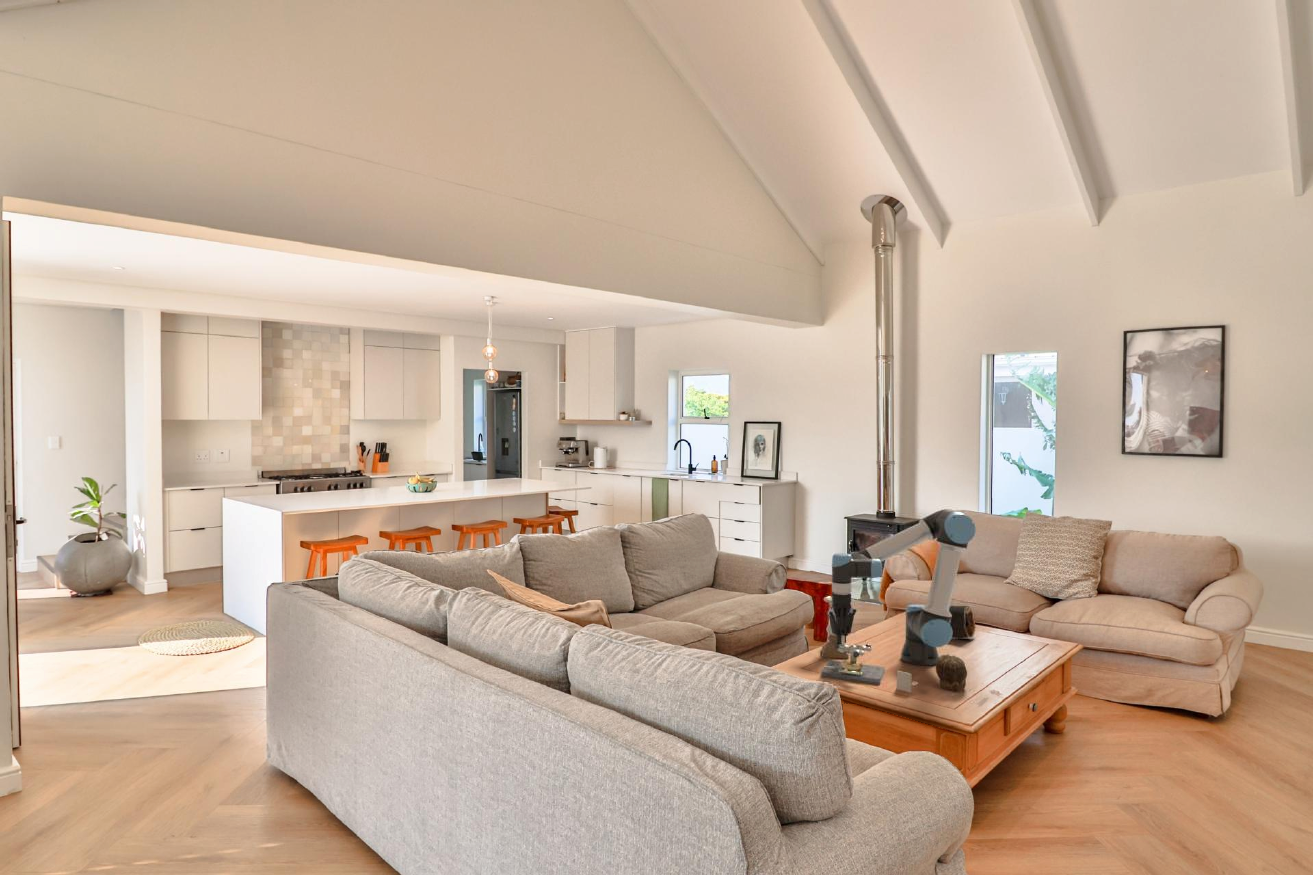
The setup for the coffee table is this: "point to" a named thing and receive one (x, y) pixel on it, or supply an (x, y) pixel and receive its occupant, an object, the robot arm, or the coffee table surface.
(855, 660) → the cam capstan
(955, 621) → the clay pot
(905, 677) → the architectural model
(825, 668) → the stand
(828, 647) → the candle holder
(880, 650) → the coffee table surface
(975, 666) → the coffee table surface
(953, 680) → the dark brown rounded lump
